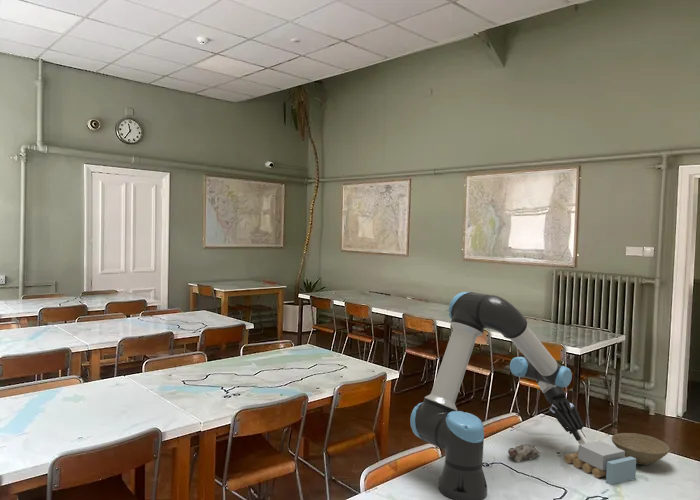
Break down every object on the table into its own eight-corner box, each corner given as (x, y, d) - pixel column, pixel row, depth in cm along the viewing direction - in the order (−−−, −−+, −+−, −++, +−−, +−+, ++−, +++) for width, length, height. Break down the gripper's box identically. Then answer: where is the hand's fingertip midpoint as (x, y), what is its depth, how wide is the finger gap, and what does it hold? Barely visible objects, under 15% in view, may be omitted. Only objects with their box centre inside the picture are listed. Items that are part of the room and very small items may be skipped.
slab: (602, 470, 173) (603, 455, 173) (578, 458, 182) (578, 444, 182) (624, 465, 178) (625, 451, 178) (599, 454, 187) (600, 440, 187)
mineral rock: (531, 450, 197) (532, 439, 196) (546, 459, 189) (546, 447, 189) (499, 455, 192) (499, 443, 191) (513, 463, 184) (513, 451, 184)
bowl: (610, 466, 185) (611, 444, 184) (611, 448, 201) (611, 428, 201) (670, 478, 176) (671, 455, 176) (666, 459, 192) (667, 438, 192)
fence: (611, 485, 170) (612, 464, 169) (606, 482, 171) (606, 461, 171) (635, 479, 175) (636, 458, 175) (629, 476, 176) (630, 456, 176)
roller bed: (599, 479, 174) (599, 470, 174) (563, 461, 187) (564, 453, 187) (623, 473, 179) (623, 464, 179) (586, 456, 192) (587, 448, 192)
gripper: (558, 393, 206) (592, 450, 191) (534, 396, 200) (567, 455, 185) (570, 383, 201) (605, 441, 186) (545, 386, 195) (580, 446, 180)
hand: (586, 448), depth 186 cm, fingers closed
